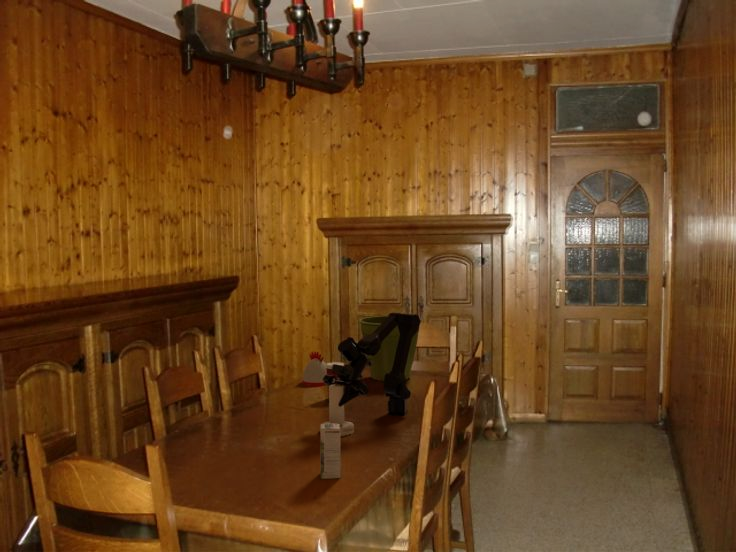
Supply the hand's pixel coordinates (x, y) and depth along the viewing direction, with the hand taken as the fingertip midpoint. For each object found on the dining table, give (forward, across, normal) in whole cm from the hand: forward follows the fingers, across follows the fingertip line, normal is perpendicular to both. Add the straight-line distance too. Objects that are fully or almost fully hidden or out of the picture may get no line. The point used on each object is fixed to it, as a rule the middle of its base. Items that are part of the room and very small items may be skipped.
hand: (333, 404), depth 239 cm
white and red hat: (-29, -65, +44) cm, 84 cm away
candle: (+4, 0, +6) cm, 7 cm away
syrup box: (+29, +30, -15) cm, 44 cm away
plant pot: (-50, -45, +65) cm, 94 cm away
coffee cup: (-18, -36, +32) cm, 51 cm away
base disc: (+6, 0, +8) cm, 10 cm away
